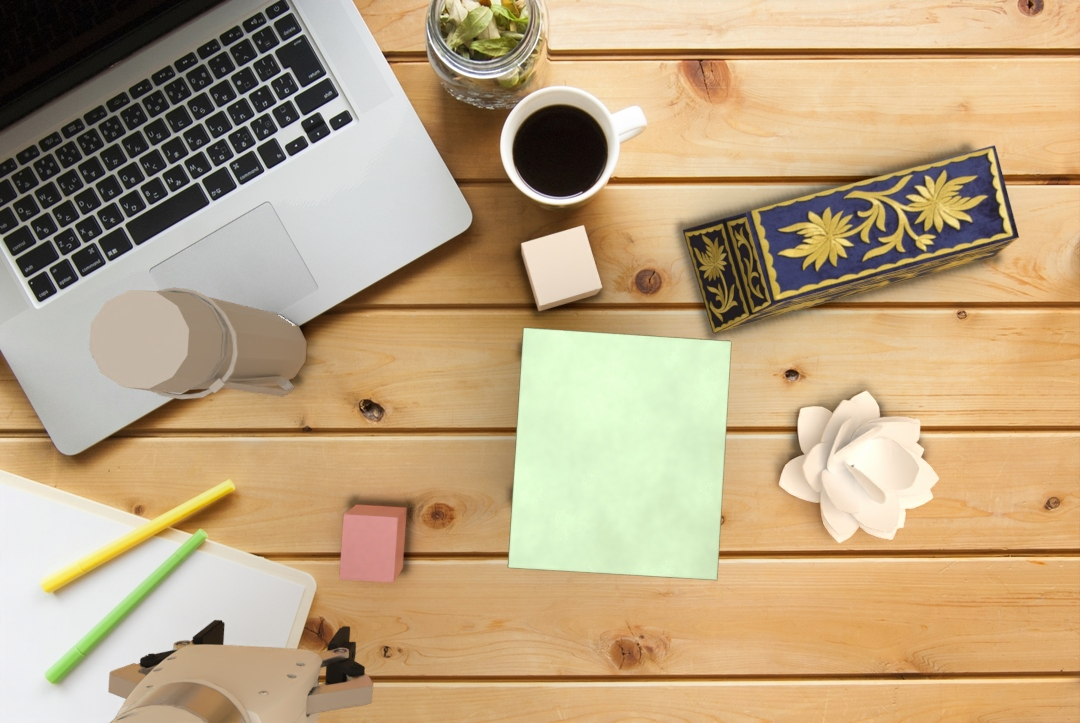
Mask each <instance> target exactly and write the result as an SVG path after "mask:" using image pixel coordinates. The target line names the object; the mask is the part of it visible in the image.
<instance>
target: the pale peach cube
mask: <svg viewBox="0 0 1080 723" xmlns="http://www.w3.org/2000/svg"><path fill="white" fill-rule="evenodd" d="M520 248H521V257H522V260H523V264H524V266H525V270H526V274H527V277H528V280H529V284H530V287H531V290H532V293H533V298H534V300H535V304H536V308H537V310H538V312H542V311H545V310H549V309H551V308H552V309H553V308H556V307H560V306H562V305H565V304H569V303H573V302H577V301H580V300H582V299H586V298H589V297H593V296H596V295H597V294H599V292H600V291H601V290H602V289H603V285H602V282H601V278H600V275H599V272H598V268H597V265H596V262H595V258H594V255H593V252H592V248H591V244H590V241H589V237H588V234H587V231H586V227H585V225H584V224H583V225H579V226H576V227H573V228H569V229H566V230H562V231H559V232H555V233H551V234H547V235H544V236H542V237H538V238H534V239H531V240H528V241H525V242H521V243H520Z"/></svg>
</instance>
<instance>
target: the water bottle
mask: <svg viewBox="0 0 1080 723" xmlns="http://www.w3.org/2000/svg"><path fill="white" fill-rule="evenodd" d="M275 313H276V312H272V311H268V310H263V309H259V308H255V307H252V306H247V305H243V304H239V303H235V302H231V301H226V300H223V299H218V298H213V297H210V296H207V295H205V294H203V293H200V292H198V291H197V290H193V289H187V288H181V287H175V286H174V287H168V288H163V289H160V290H137V289H129V290H127V291H124V292H122V293H120V294H118V295H117V296H115V297H112V298H110V299H108V300H106V301H105V302H104V304H103V305H102V306H101V308H100V309H99V311H98V312H97V314H96V315H95V317H94V318H93V320H92V321H91V323H90V332H89V344H88V350H89V352H90V355H91V356H92V358H93V361H94V363H95V364H96V366H97V369H98V370H99V372H100V374H102V375H103V376H105V377H106V378H108V379H109V380H110V381H112V382H114V383H116V384H117V385H119V386H120V387H122V388H126V389H133V390H139V391H148V392H152V393H154V394H156V395H157V396H160V397H165V398H171V399H176V400H177V399H178V400H190V399H202V398H205V397H207V396H208V395H211V394H212V393H213V394H216V393H218V392H220V391H221V390H223V389H224V390H231V391H238V392H239V391H240V392H246V393H255V394H261V395H267V396H274V397H275V396H276V397H286V396H288V395H289V394H290V393H292V392H293V391H294V390H295V389H296V388H295V386H294V384H293V383H292V382H291V381H290V380H292V379H294V378H296V376H297V375H298V373H299V372H300V370H301V369H302V367H303V366H304V365H305V363H306V359H307V346H308V345H307V344H308V342H307V340H306V338H305V336H304V334H303V332H302V330H301V327H300V326H299V325H298V327H293V326H292V324H291V323H289V322H288V321H286V320H285V319H283V318H281V317H280V316H278V315H277V314H278V313H276V314H275ZM272 386H273V387H272ZM274 386H275V387H274ZM277 386H279V387H280V388H277ZM188 390H191V391H192V390H202V391H199V392H193V393H185V392H186V391H188Z"/></svg>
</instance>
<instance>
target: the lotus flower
mask: <svg viewBox="0 0 1080 723" xmlns="http://www.w3.org/2000/svg"><path fill="white" fill-rule="evenodd" d="M880 412H881V411H880V406H879V405H878V403H877V400H876V399H875V398H874V397H873V396H872V394H870V392H869V391H868V390H863V391H861V392H860V393H857V394H855V395H854V396H852V397H851V398H849V399H842V400H841V401H840V402H839V404H838V405H837V406H836V408H834V411H833V412H832V411H831V410H829V409H828V408H826V407H824V406H817V405H816V406H815V405H812V406H805V407H801V408H800V409H799V413H798V418H797V438H798V443H799V447H800V450H801V452H802V453H803V454H801V455H799V456H796V457H794V458H792V459H790V460H789V461H788V462H787V463H785V464H784V467H783V468H782V471H781V473H780V477H779V481H778V486H779V487H780V488H781V489H783V491H785V492H786V493H788V494H789V495H791V496H793V497H796V498H798V499H801V500H803V501H807V502H810V503H815V504H819V505H820V516H821V520H822V524H823V527H824V528H825V530H826V531H827V532H828V534H829V536H831V537H832V538H833V539H834V540H835V541H836V543H838V544H841V543H843V542H845V541H847V540H848V539H850V538H851V537H852V536H853V535H854V534H855V533H857V531H858V529H859V528H860V529H861V530H863V531H864V532H865V533H866V534H868V535H870V536H873V537H876V538H879V539H883V540H884V539H885V540H889V541H892V540H894V537H895V535H896V533H897V531H898V529H904V527H905V522H906V515H907V514H906V510H907V509H909V510H911V509H912V510H913V509H915V508H917V507H920V506H923V505H925V504H926V503H928V502H930V501H931V500H933V499H934V495H933V493H932V490H931V489H932V488H933V487H934V486H935V485H936V484H937V483H938V482H939V481H940V477H939V475H938V474H937V473H936V471H935V470H934V468H933V467H932V465H930V463H928V462H927V461H926V460H925V459H924V458H923V457H922V456H923V454H924V451H925V448H924V447H923V446H921V445H920V444H919V443H918V441H920V436H921V420H920V419H918V418H913V417H910V416H906V415H905V416H900V415H899V416H898V415H897V416H896V415H894V416H881V413H880Z"/></svg>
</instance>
